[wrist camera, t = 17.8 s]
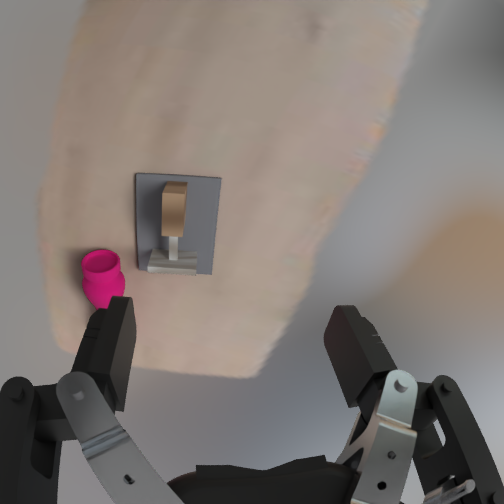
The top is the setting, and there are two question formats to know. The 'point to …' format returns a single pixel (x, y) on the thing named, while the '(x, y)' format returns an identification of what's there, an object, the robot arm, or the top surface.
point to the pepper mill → (102, 277)
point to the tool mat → (196, 220)
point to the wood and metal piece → (173, 234)
